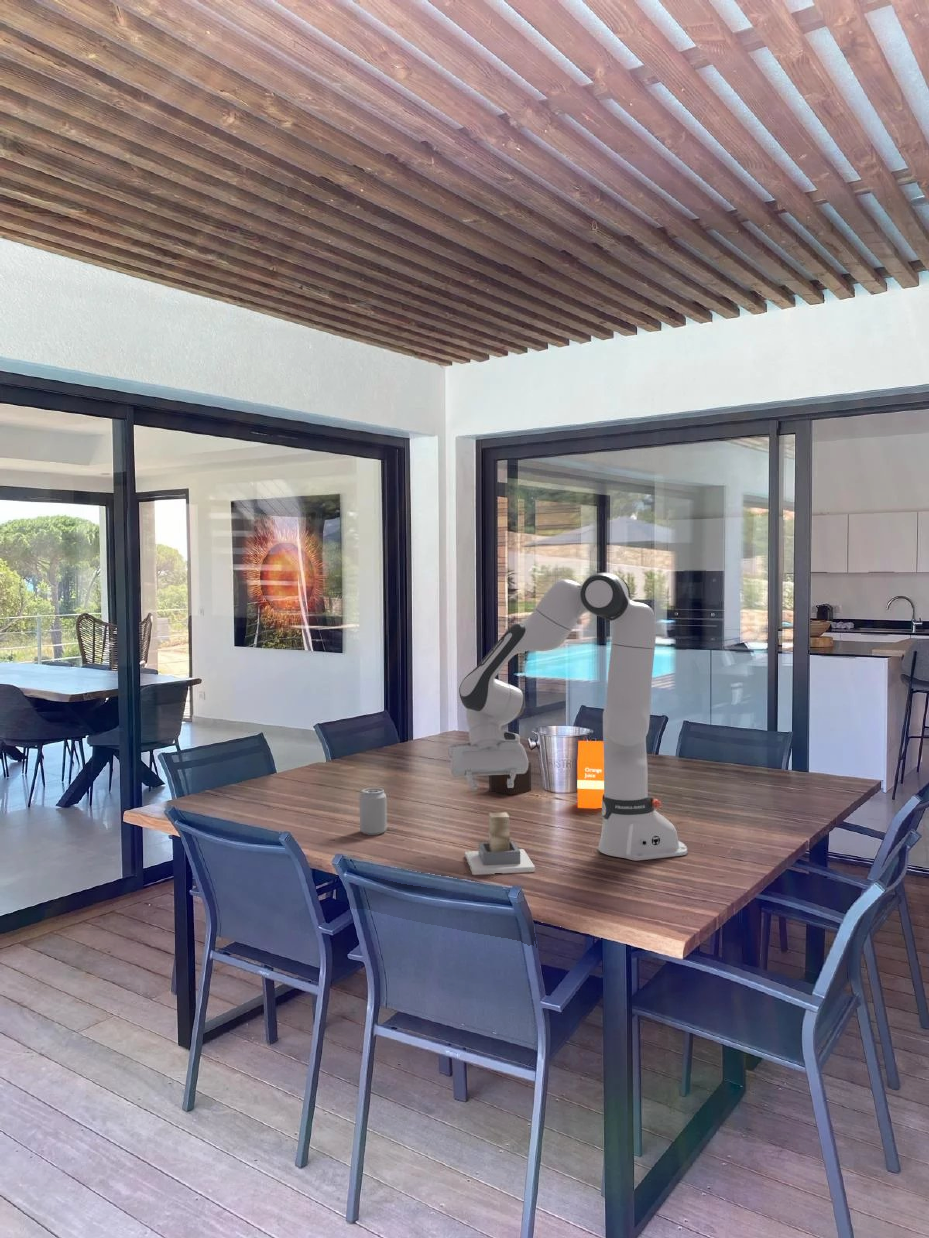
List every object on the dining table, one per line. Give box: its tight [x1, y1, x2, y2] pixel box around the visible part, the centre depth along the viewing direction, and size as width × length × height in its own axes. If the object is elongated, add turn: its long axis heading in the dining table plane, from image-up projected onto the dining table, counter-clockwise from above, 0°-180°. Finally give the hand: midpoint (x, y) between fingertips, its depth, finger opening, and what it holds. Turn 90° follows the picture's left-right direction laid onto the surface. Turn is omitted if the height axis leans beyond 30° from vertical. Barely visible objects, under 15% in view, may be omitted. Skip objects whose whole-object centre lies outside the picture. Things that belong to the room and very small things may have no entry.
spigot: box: [488, 812, 511, 852], centre depth 228 cm, size 4×4×11 cm
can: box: [359, 787, 388, 836], centre depth 258 cm, size 8×8×12 cm
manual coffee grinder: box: [488, 762, 532, 796], centre depth 309 cm, size 16×11×18 cm
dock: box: [464, 840, 536, 876], centre depth 228 cm, size 15×15×4 cm
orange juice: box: [576, 740, 604, 809], centre depth 286 cm, size 8×9×20 cm
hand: (492, 787), depth 237 cm, fingers open, 8 cm apart
